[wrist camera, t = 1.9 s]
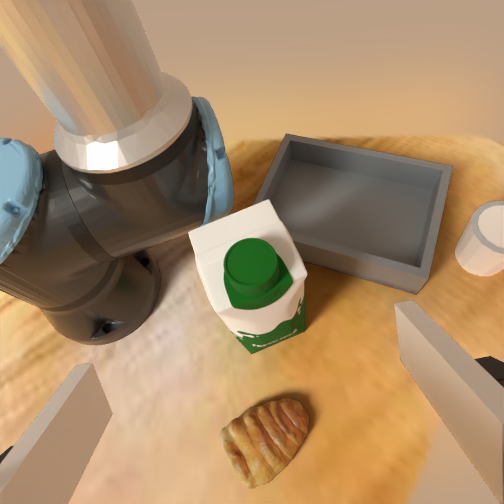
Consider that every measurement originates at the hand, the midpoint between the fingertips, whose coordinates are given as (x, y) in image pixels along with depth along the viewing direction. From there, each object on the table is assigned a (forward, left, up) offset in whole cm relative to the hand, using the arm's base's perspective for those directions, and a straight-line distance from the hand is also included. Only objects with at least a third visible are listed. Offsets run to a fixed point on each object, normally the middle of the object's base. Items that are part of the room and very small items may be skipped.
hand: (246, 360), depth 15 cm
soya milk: (-5, +9, -28) cm, 30 cm away
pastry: (-1, -4, -28) cm, 28 cm away
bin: (0, +25, -28) cm, 38 cm away
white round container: (+17, +25, -28) cm, 41 cm away
